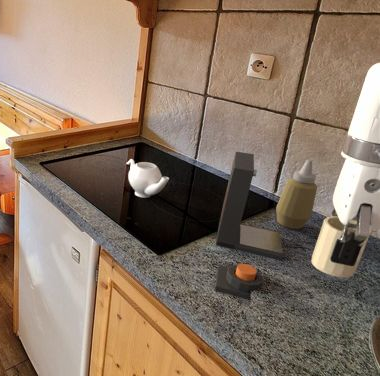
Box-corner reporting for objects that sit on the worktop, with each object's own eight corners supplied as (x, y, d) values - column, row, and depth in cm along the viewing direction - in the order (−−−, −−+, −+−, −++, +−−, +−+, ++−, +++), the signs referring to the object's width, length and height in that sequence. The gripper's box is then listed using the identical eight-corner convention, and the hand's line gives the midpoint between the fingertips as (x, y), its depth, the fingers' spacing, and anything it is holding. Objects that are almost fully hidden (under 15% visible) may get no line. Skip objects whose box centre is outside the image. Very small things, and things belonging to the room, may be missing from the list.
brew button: (254, 273, 82) (256, 266, 82) (254, 283, 80) (256, 276, 79) (235, 268, 84) (237, 261, 83) (235, 278, 81) (236, 271, 80)
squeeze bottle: (313, 227, 106) (335, 163, 98) (295, 234, 102) (317, 168, 94) (283, 214, 112) (302, 152, 104) (265, 220, 108) (284, 157, 100)
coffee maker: (278, 235, 101) (301, 161, 93) (281, 260, 91) (307, 180, 83) (218, 222, 107) (235, 151, 98) (215, 245, 97) (233, 167, 88)
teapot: (137, 179, 131) (141, 152, 127) (176, 206, 114) (182, 176, 111) (111, 183, 128) (114, 155, 124) (148, 211, 111) (152, 181, 107)
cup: (350, 260, 70) (366, 220, 66) (358, 281, 65) (375, 239, 61) (309, 252, 72) (321, 213, 69) (313, 271, 67) (327, 230, 64)
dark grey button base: (268, 282, 84) (272, 270, 83) (269, 305, 78) (274, 293, 76) (217, 269, 88) (220, 257, 87) (214, 290, 81) (217, 278, 80)
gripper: (427, 174, 51) (378, 288, 59) (389, 136, 65) (353, 232, 73) (356, 165, 54) (318, 275, 61) (334, 130, 68) (305, 223, 76)
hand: (338, 251), depth 67 cm, fingers closed on cup, 6 cm apart
